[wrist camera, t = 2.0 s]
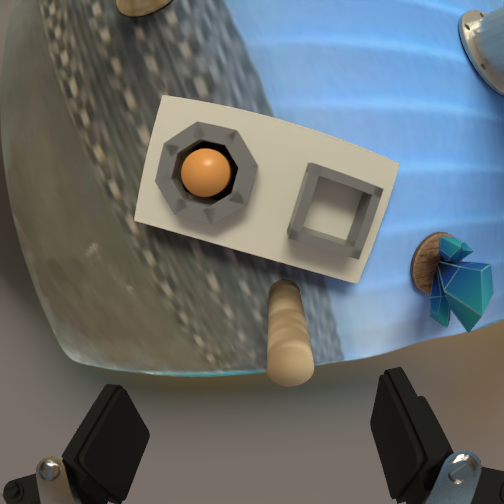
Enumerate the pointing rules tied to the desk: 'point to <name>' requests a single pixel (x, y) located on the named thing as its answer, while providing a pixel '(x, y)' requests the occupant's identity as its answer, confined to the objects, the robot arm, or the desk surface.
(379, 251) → the desk surface
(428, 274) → the gemstone
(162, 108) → the panel
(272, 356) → the wooden cylinder rod
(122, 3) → the hand bell
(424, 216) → the desk surface
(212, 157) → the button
